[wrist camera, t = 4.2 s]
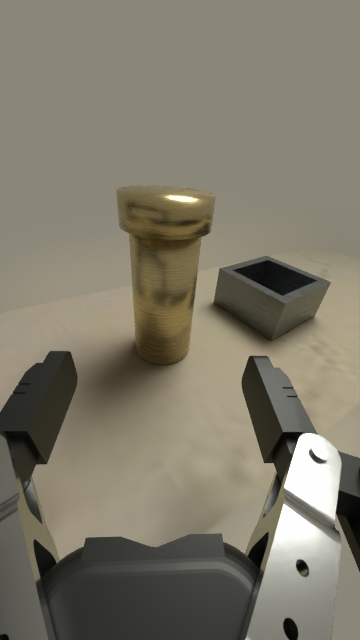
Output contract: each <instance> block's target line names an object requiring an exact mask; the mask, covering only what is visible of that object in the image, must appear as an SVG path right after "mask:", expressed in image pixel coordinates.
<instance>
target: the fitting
mask: <svg viewBox="0 0 360 640" xmlns="http://www.w3.org/2000/svg"><path fill="white" fill-rule="evenodd" d="M116 192H117V203H118V216H119V226H120V228H121V229H122V230H124V231H126V232H128V233H129V238H130V255H131V270H132V287H133V303H134V319H135V336H136V349H137V352H138V354H139V356H140V357H141V358H143V359H144V360H145V361H147V362H150V363H153V364H157V365H168V364H173V363H176V362H178V361H180V360H182V359H183V358H184V357H185V356H186V355H187V353H188V350H189V343H190V334H191V325H192V316H193V307H194V298H195V289H196V280H197V272H198V263H199V253H200V245H201V237H202V236H205V235H207V234H208V233H210V231H211V227H212V220H213V212H214V205H215V195H213V194H211V193H208V192H205V191H201V190H196V189H190V188H182V187H171V186H129V187H123V188H119V189H117V191H116Z"/></svg>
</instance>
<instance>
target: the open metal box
mask: <svg viewBox="0 0 360 640" xmlns="http://www.w3.org/2000/svg"><path fill="white" fill-rule="evenodd" d="M330 283H331V282H329V281H327V280H324V279H322V278H319V277H317V276H315V275H312V274H310V273H307V272H305V271H302V270H300V269H297V268H295V267H293V266H290V265H288V264H285V263H283V262H280V261H278V260H275V259H273V258H271V257H268V256H265V257H260V258H257V259H253V260H249V261H246V262H242V263H238V264H235V265H231V266H227V267H224V268H220V270H219V275H218V281H217V287H216V293H215V298H214V303H216V304H217V305H219V306H220V307H222V308H223V309H224V310H226V311H227V312H229V313H230V314H232V315H233V316H235V317H236V318H238V319H239V320H241V321H242V322H244V323H245V324H247V325H248V326H250V327H251V328H253V329H254V330H256V331H257V332H259V333H260V334H262V335H263V336H265V337H266V338H267V339H269V340H270V341H272V340H274V339H275V338H277V337H279V336H281V335H282V334H284V333H286V332H288V331H289V330H291V329H293V328H294V327H296V326H298V325H300V324H301V323H303V322H305V321H307V320H308V319H310V318H312V317H314V316H315V314H316V312H317V310H318V308H319V306H320V304H321V302H322V300H323V298H324V296H325V294H326V291H327V289H328V287H329V285H330Z"/></svg>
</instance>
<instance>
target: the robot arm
mask: <svg viewBox="0 0 360 640" xmlns="http://www.w3.org/2000/svg"><path fill="white" fill-rule="evenodd" d="M76 386H77V372H76V369H75V365H74V362H73V358H72V355H71V352H69V351H50V352H49V353H48V355H47V356H46V358H45V360H44V362H43V363H36V364H35V365H33V366H32V367H31V368H30V369H29V370H28V371H26V372H25V374H24V375H23V377H22V379H21V380H20V382H19V385H17V387H16V388H15V390H14V391H13V394H12V395H11V396H10V398H9V399H8V401H7V402H6V404H5V406H4V407H3V409H2V410H1V412H0V640H331V638H332V629H333V620H334V610H335V600H336V590H337V581H338V571H339V561H340V552H341V537H340V533H339V531H337V530H336V529H335V524H334V523H335V514H337V517H338V519H339V522H340V524H341V526H342V529H343V532H344V534H345V536H346V539H347V542H348V544H349V546H350V548H351V551H352V554H353V556H354V559H355V561H356V564H357V566H358V569H359V571H360V458H358V457H354V456H351V455H348V454H345V453H342V452H339V451H337V450H336V449H335V447H334V446H333V445H332V444H331V443H330V442H329V441H328V440H326V439H325V438H323V437H321V436H319V435H318V434H317V432H316V430H315V429H314V427H313V425H312V423H311V421H310V419H309V417H308V415H307V413H306V411H305V409H304V407H303V405H302V403H301V401H300V399H299V398H298V395H297V393H296V391H295V390H294V389H293V386H292V384H291V382H290V380H289V378H288V376H287V375H286V374H285V373H284V372H283V371H282V370H281V369H280V368H273V365H272V363H271V361H270V359H269V358H268V357H267V356H250V357H249V359H248V362H247V365H246V368H245V371H244V374H243V377H242V390H243V394H244V397H245V400H246V404H247V407H248V410H249V414H250V417H251V420H252V424H253V427H254V430H255V434H256V437H257V441H258V444H259V447H260V451H261V454H262V457H263V461H264V463H274V465H275V468H276V472H275V474H274V477H273V480H272V483H271V486H270V489H269V492H268V495H267V498H266V501H265V504H264V507H263V510H262V513H261V516H260V518H259V521H258V523H257V525H256V527H255V529H254V531H253V533H252V536H251V539H250V541H249V544H248V547H247V549H246V552H245V554H244V553H242V552H241V551H240V550H238V549H237V548H235V547H233V546H231V545H229V544H227V543H224V542H223V538H222V534H191V535H187V536H184V537H182V538H179V539H177V540H174V541H172V542H169V543H167V544H164V545H162V546H159V547H150V546H147V545H144V544H141V543H138V542H135V541H132V540H129V539H126V538H123V537H95V538H86V539H85V544H84V547H82V548H79V549H77V550H76V551H74V552H72V553H70V554H69V555H67V556H66V557H64V558H63V559H61V560H60V559H59V556H58V553H57V549H56V546H55V544H54V541H53V539H52V536H51V534H50V532H49V530H48V528H47V525H46V522H45V519H44V515H43V512H42V509H41V505H40V502H39V498H38V495H37V492H36V488H35V485H34V482H33V478H32V476H31V475H32V473H33V470H34V468H35V466H36V464H47V462H48V460H49V457H50V454H51V452H52V449H53V447H54V444H55V441H56V439H57V436H58V434H59V431H60V428H61V426H62V423H63V420H64V418H65V415H66V413H67V410H68V407H69V405H70V402H71V400H72V397H73V394H74V392H75V389H76Z"/></svg>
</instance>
